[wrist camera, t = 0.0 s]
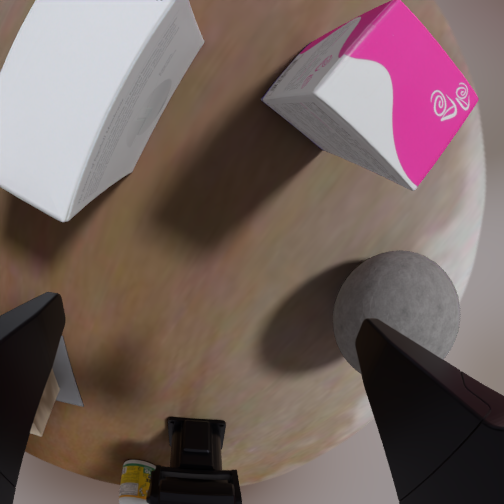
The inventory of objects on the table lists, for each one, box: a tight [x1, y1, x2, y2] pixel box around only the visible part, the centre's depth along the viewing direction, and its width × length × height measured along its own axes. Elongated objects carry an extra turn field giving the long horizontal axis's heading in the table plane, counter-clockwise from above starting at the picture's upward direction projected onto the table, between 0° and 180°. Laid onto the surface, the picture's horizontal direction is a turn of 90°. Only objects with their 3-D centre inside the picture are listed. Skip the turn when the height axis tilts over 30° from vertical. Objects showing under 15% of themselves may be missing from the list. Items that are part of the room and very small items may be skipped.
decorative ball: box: [333, 251, 460, 373], centre depth 22 cm, size 10×10×10 cm
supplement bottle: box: [119, 460, 156, 504], centre depth 33 cm, size 5×5×10 cm
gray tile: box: [52, 336, 84, 407], centre depth 27 cm, size 11×11×1 cm
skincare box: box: [0, 0, 204, 222], centre depth 14 cm, size 10×6×10 cm, turn 149°
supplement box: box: [261, 0, 479, 191], centre depth 15 cm, size 6×6×12 cm
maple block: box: [30, 369, 60, 437], centre depth 24 cm, size 6×6×7 cm
